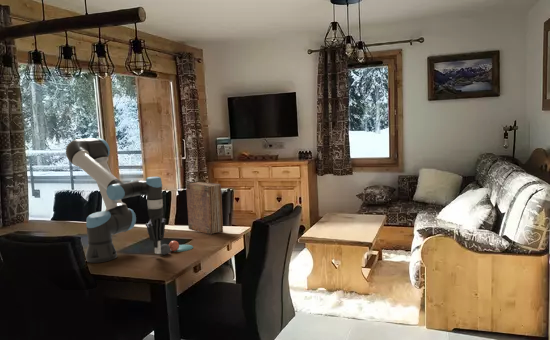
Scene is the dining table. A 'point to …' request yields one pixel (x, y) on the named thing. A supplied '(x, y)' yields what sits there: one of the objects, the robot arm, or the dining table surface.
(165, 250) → the gray ball
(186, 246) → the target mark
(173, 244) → the object ball
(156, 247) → the robot arm
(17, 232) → the dining table surface
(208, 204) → the book
